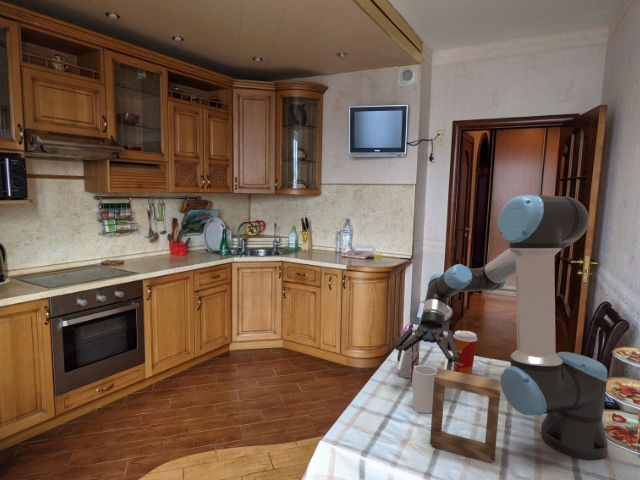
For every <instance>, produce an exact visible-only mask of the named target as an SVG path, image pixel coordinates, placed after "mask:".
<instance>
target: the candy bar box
mask: <svg viewBox="0 0 640 480" xmlns="http://www.w3.org/2000/svg"><path fill="white" fill-rule="evenodd" d="M410 324H411V323H407V324H406V326H405V327H403V329H402V330H401V331H400V337H399V339H400V338H401V337H402V335H403V334H404V333H405V332H406V331H407V330H408V328H409V325H410ZM412 324H413V326H416V327H418V326H419V325H420V324H414V323H412ZM416 334H418V331H415V332H414V333H412V335H411V336H410V337H409V338H408V339H407V341H409V340H410V339H412V338H413V337H414V336H415V335H416ZM407 341H406V342H407ZM406 342H405V343H406ZM420 342H421V341H420ZM420 342H418V343H416V344H415V345H413V346H412V347H411V348H409V349H408V350H406V351H405V354H406V355H405V359H404V364H403V368H402V372H401V373H399V372H398V377H401V378H403V377H404V378H405V379H410V380H412V374H413V370H414V366H419V365H420V364H419V363H420V345H421V343H420ZM405 343H404V344H405Z"/></svg>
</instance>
